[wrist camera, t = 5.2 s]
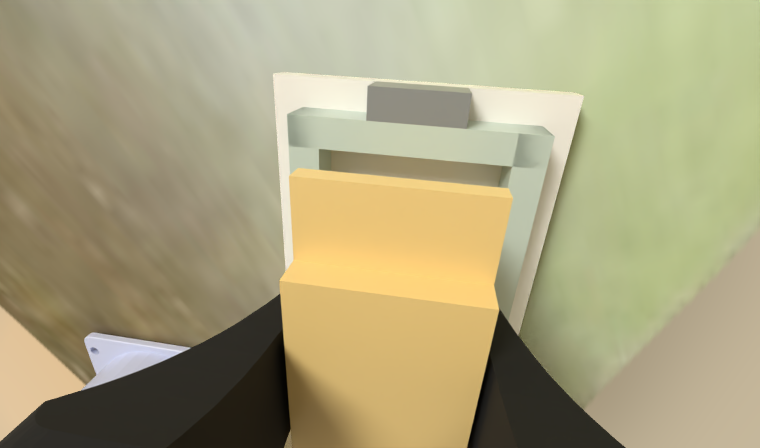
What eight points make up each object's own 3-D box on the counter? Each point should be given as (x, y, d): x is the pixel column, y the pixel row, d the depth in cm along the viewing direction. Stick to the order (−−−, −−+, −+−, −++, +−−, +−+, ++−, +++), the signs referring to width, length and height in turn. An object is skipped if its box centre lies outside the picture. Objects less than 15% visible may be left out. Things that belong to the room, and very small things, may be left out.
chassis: (503, 361, 18) (512, 406, 16) (297, 331, 19) (278, 369, 17) (574, 92, 13) (602, 102, 10) (283, 72, 14) (253, 77, 11)
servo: (443, 391, 14) (443, 546, 10) (341, 375, 15) (297, 517, 10) (487, 141, 10) (521, 216, 6) (343, 128, 11) (272, 190, 6)
